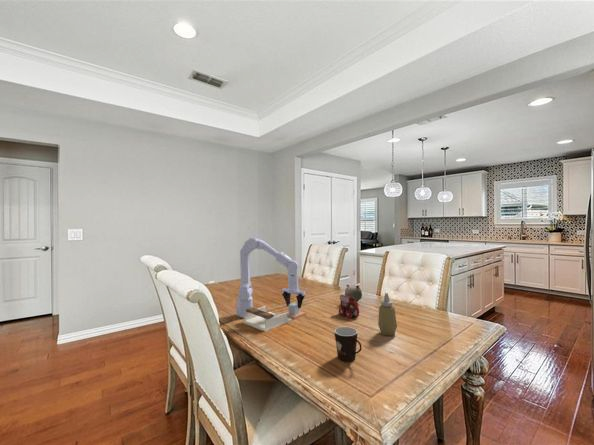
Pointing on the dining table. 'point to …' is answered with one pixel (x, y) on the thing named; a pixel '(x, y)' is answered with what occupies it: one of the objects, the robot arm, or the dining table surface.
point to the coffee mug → (346, 343)
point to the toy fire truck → (348, 306)
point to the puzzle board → (262, 322)
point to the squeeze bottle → (387, 317)
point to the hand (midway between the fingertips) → (293, 306)
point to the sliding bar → (259, 313)
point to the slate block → (293, 308)
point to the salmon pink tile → (296, 315)
